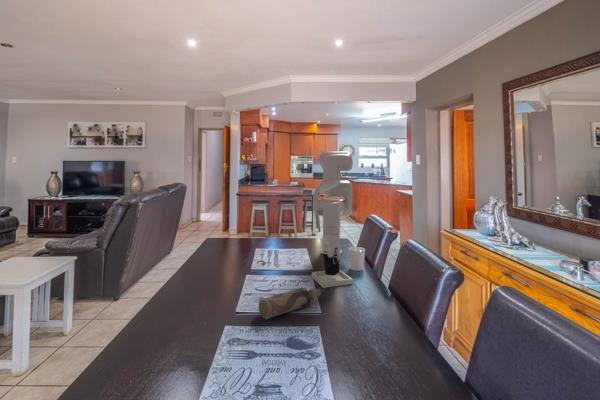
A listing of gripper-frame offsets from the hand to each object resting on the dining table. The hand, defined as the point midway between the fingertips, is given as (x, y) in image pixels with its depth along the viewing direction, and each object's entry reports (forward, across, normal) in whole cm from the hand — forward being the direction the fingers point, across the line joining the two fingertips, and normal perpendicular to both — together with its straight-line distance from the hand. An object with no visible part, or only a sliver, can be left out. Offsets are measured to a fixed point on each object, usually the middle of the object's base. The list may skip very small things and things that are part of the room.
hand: (331, 268), depth 130 cm
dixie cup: (+3, 0, 0) cm, 3 cm away
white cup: (+5, -10, +18) cm, 21 cm away
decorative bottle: (+5, +22, -24) cm, 32 cm away
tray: (+5, 0, 0) cm, 5 cm away
